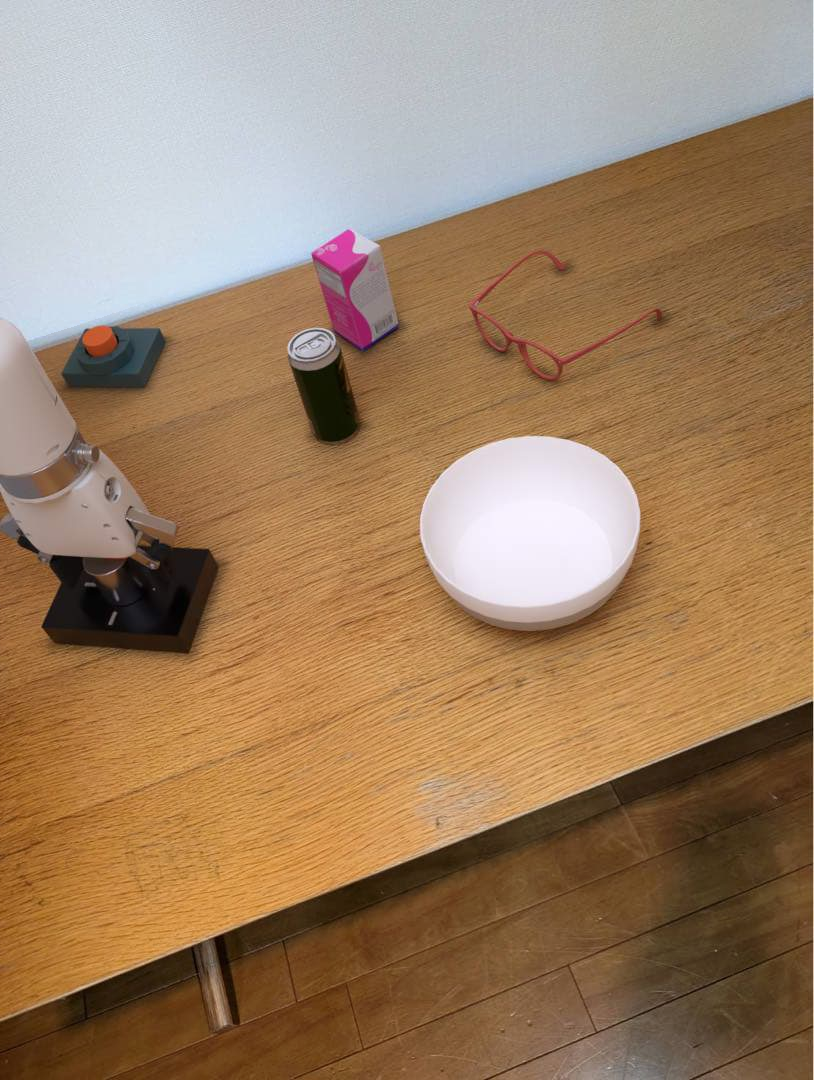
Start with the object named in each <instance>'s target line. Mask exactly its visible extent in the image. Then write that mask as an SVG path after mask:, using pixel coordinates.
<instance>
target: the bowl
mask: <svg viewBox="0 0 814 1080" xmlns="http://www.w3.org/2000/svg"><path fill="white" fill-rule="evenodd" d="M421 507H422V508H421V513H420V517H419V539H420V542H421V546H422V549H423V553H424V555H425V558H426V561H427V564H428V566H429V569H430V570H431V573H432V574H433V576H434V578H435V579H436V581H437V583H438V584H439V585H440V587H441V588H442V589H443V591H444V592H445V593H446V594H447V596H448V597H449V598H450V599H451V600H452V601H453V602H454V603H455V604H456V605H457V607H458V608H459V609H461V610H462V611H464V612H465V613H466V614H468V615H470V616H471V617H472V618H474V619H477V620H478V621H481V622H484V623H486V624H487V625H490V626H494V627H497V628H501V629H506V630H510V631H511V630H512V631H525V632H535V631H547V630H552V629H556V628H559V627H561V628H562V627H564V626H568V625H570V624H573V623H576V622H578V621H579V620H582V619H584V618H586V617H588V616H590V615H591V614H593V613H594V612H595V611H597V610H598V609H600V608H601V607H603V606H604V605H605V604H606V603H607V602H608V601H609V599H610V598H612V597H613V595H614V594H615V593H616V592H617V590H618V589H619V587H620V586H621V584H622V583H623V581H624V580H625V577H626V576H627V573H628V571H629V569H630V568H631V566H632V564H633V561H634V558H635V555H636V552H637V549H638V545H639V539H640V533H641V519H642V514H641V513H642V512H641V507H640V503H639V498H638V496H637V493H636V491H635V489H634V487H633V484H632V483H631V481H630V480H629V478H628V477H627V476H626V474H625V473H624V472H623V471H622V470H621V468H620V467H619V466H618V465H617V464H615V463H614V462H613V461H612V460H611V459H610V458H608V457H607V456H605V455H604V454H603V453H600V452H599V451H597V450H595V449H594V448H591V447H589V446H587V445H585V444H582V443H579V442H577V441H573V440H570V439H567V438H560V437H554V436H545V435H544V436H541V435H540V436H539V435H525V436H517V437H509V438H505V439H501V440H498V441H493V442H490V443H488V444H485V445H483V446H480V447H478V448H476V449H473V450H471V451H469V452H468V453H467V454H465V455H463V456H461V457H460V458H458V459H457V460H455V461H454V462H453V463H452V464H450V465H449V466H448V467H447V468H446V469H445V470H444V471H443V472H442V473H441V474H440V475H439V477H438V478H437V479H436V481H435V482H434V483H433V485H432V486H431V487H430V489H429V491H428V493H427V495H426V497H425V499H424V501H423V504H422V506H421Z"/></svg>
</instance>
